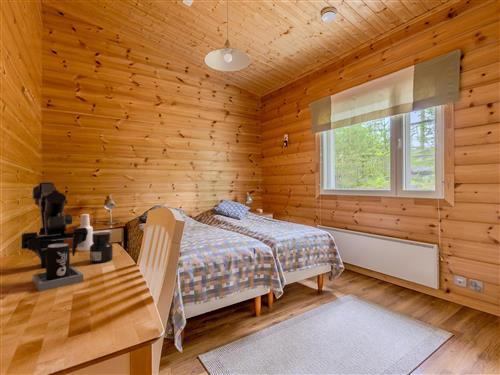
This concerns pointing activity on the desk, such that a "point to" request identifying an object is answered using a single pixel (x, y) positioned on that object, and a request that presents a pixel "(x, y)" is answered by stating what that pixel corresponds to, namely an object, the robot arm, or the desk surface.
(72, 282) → the gray rectangular tray
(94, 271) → the desk surface
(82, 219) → the spray bottle
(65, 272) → the beverage can
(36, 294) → the desk surface
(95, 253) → the ink bottle
